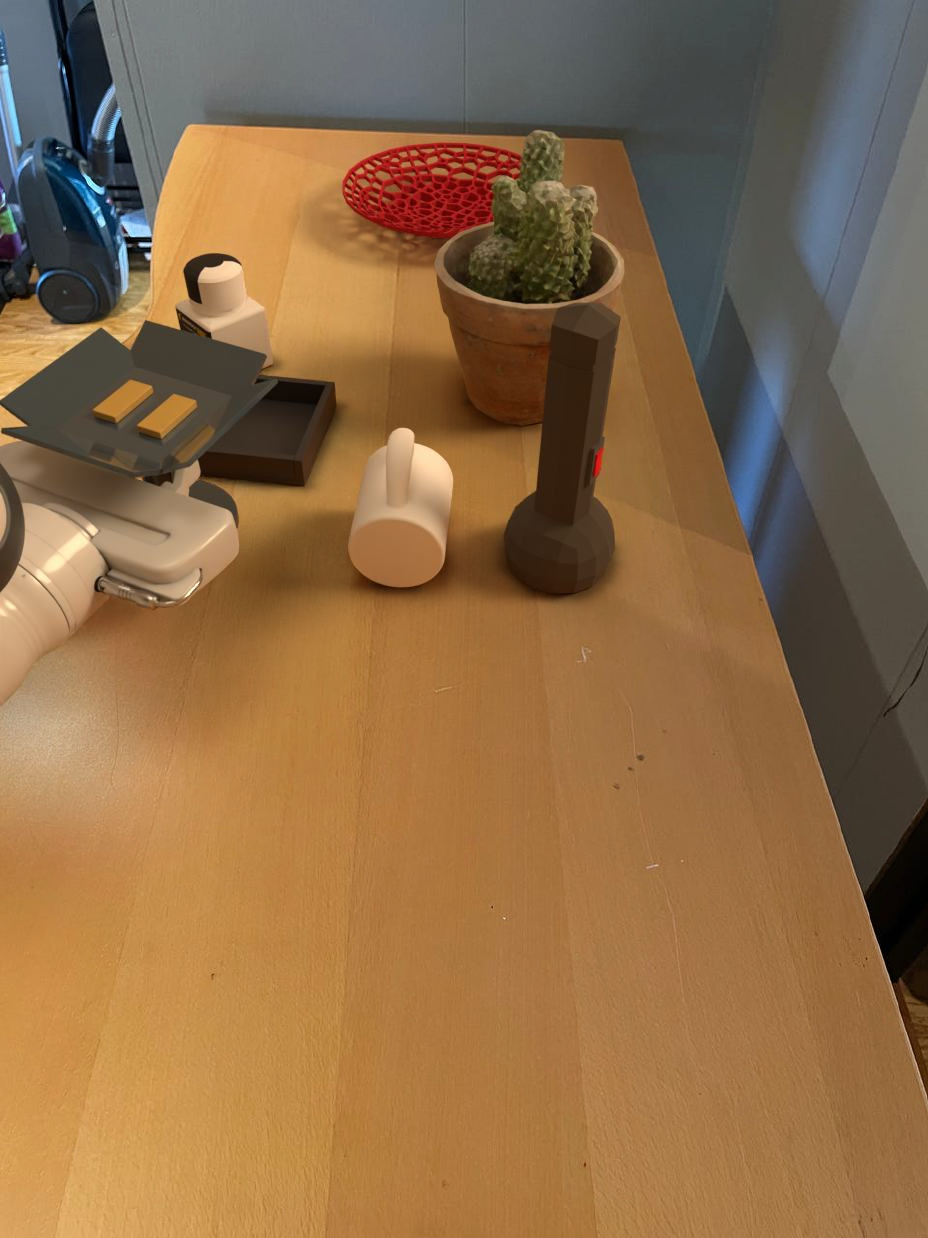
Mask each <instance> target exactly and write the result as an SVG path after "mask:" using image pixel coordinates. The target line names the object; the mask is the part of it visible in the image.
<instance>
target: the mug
mask: <svg viewBox="0 0 928 1238" xmlns="http://www.w3.org/2000/svg"><path fill="white" fill-rule="evenodd" d="M449 465H450V464H449V463H448V462H447V461H446V460H445V458H444V457H443V456H442V455H441V454H439V453H438V452H437V451H435V450H434V449H432V448H430V447H428V446H426V445H423V444H420V443H416V442H415V433H414V432H413V430H412V429H410V428H407V427H398V428H396V429H394V430H393V431H392V432H391V433H390V434H389V436H388V439H387V442H386V445H384V446H382V447H380V448H379V449H377V450H376V451H375V452H373V454H371V455H370V456H369V458H368V459H367V461H366V463H365V466H364V469H363V473H362V477H361V483H360V487H359V492H358V495H357V496H358V497H357V501H356V506H355V510H354V515H353V519H352V523H351V528H350V533H349V538H348V541H347V542H348V543H347V551H348V556H349V559H350V561H351V563H352V565H353V566H354V567H355V568H356V569H357V571H358V572H359V573H361V575H363V576H364V577H366V578H367V579H369V580H370V581H372V582H375V583H377V584H379V585H383V586H387V587H393V588H410V587H415V586H416V587H417V586H420V585H422V584H425V583H427V582H429V581H430V580H432V579H433V578H435V576H436V575H438V574H439V572H440V571H441V569H442V568H443V565H444V563H445V558H446V551H447V541H448V533H449V525H450V516H451V507H452V499H453V491H454V490H453V488H454V475H453V472H452V468H451V467H450V466H449Z"/></svg>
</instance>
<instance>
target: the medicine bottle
mask: <svg viewBox="0 0 928 1238" xmlns="http://www.w3.org/2000/svg"><path fill="white" fill-rule="evenodd" d="M182 272H183V278H184V282H185V287H186V292H187V295H188V298H186V299H183V300H181V301H178V302H177V303H176V304H175V305H174V308H175V312H176V316H177V321H178V325H179V330H183V331H186V332H190V333H193V334H197V335H200V336H204V337H207V338H211V339H214V340H218V341H221V342H225V343H228V344H232V345H235V346H239V347H243V348H246V349H250V350H253V351H257V352H260V353H264V354H266V355H267V358H266V360H265V363H264V365H263V367H262V369H261V370H263V369H266V368H269V367H270V366H272V365H273V364H274V357H273V351H272V345H271V339H270V338H271V337H270V331H269V330H270V329H269V324H268V318H267V311H266V308H265V307H264V306H263V305H261V303H259V302H257V301H256V300H254V299H253V298H252V297H250V296H249V295H247V288H246V283H245V277H244V270H243V265H242V263H241V262H240V260H239V259H237V258H236V257H234V256H232V255H230V254H227V253H221V252H219V253H218V252H209V253H204V254H200V255H197V256H195V257H193V258H190V260H188V261H187V262H186V264H185V265H184V267H183V269H182Z"/></svg>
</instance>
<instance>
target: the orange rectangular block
mask: <svg viewBox="0 0 928 1238" xmlns="http://www.w3.org/2000/svg"><path fill="white" fill-rule="evenodd" d="M152 393H153V388H152V386H150V385H147V384H144V383H140V382H137V381H134V380H129V381H128V382H127V383H125V384H124V385H123V386H122V387H120V388H119V389H118V390H117V391H115V392H114V393H113V394H112V395H110V396H109V397H108V398H107V399H105V400H104V401H103V402H102V403H100V404H99V405H98V406H97V407H95V408H94V409H93V410H92V411H93V414H94V416H95V417H97V418H100V419H104V420H107V421H110V422H113V423H118V422H119V421H120V420H121V419H122V418H124V417H125V416H126V415H127V414H128V413H130V412H131V411H132V410H133V409H134V408H136V407H137V406H138V405H139V404H140V403H142V402H143V401H144V400H145V399H146V398H148V397H149V396H150V395H151V394H152Z"/></svg>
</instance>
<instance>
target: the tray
mask: <svg viewBox="0 0 928 1238" xmlns="http://www.w3.org/2000/svg"><path fill="white" fill-rule="evenodd" d="M273 378H276V379H277V381H278V383H277V384H276V385H275V386H274V387H273V388H272V389H271V390H270V391H269V392H268V393H267V394H266V395H265V396H264V397H262V398H261V399H260V400H259V401H258V402H257V403H256V404H255V405H254V406H253V407H252V408H251V409H250V410H249V411H248V412H247V413H246V414H245V415H244V416H243V417H242V418H240V419H239V420H238V421H237V422H236V423H235V424H234V425H233V426H232V427H231V428H230V429H229V430H228V431H227V432H226V433H225V434H224V435H223V436H222V437H221V438H220V439H219V440H217V441H216V442H215V443H214V444H213V445H212V446H211V447H210V448H209V449H208V450H207V451H206V452H205V453H204V454H203V455H202V456H201V457H200V458H199V459H198V462H199V467H200V471H201V473H200V476H207V477H218V478H226V479H234V480H235V479H236V480H246V481H255V482H265V483H272V484H273V483H274V484H281V485H282V484H283V485H292V486H301V487H302V486H303V487H305V486H306V484H307V482H308V479H309V477H310V474H311V472H312V469H313V466H314V465H315V462H316V459H317V457H318V455H319V452H320V449H321V447H322V445H323V443H324V440H325V437H326V434H327V432H328V430H329V428H330V425H331V422H332V420H333V417H334V415H335V413H336V410H337V408H338V403H337V393H336V392H337V391H336V382H335V381H329V380H319V379H308V378H301V377H300V378H298V377H288V376H279V375H278V376H277V375H269V374H259V376H258V378H257V380H256V382H255V384H258V383H261V382H264V381H267V380H270V379H273Z"/></svg>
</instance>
